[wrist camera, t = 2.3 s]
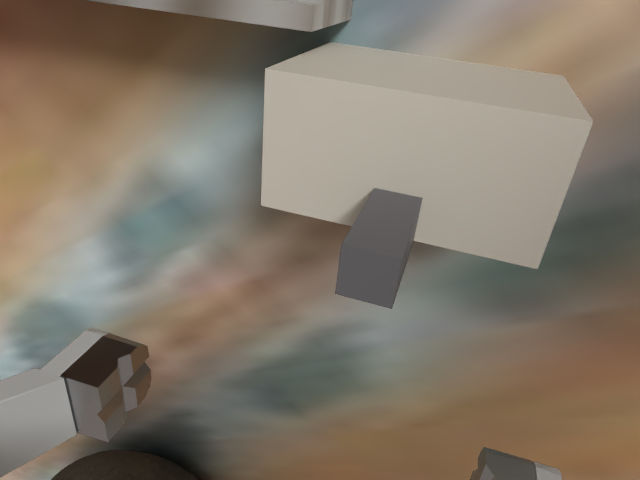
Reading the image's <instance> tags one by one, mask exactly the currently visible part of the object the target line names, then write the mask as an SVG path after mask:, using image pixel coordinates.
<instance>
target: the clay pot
mask: <svg viewBox="0 0 640 480" xmlns="http://www.w3.org/2000/svg"><path fill="white" fill-rule="evenodd" d="M51 480H198V479H197V478H196V477H195V476H194V475H193V474H191V473H190V472H189V471H187V470H185V469H183V468H182V467H180V466H178V465H176V464H174V463H173V462H171V461H169V460H167V459H165V458H162V457H159V456H156V455H153V454H149V453H143V452H138V451H128V450H110V451H102V452H99V453H96V454H92V455H89V456H86V457H84V458H81V459H79V460H77V461H75V462H74V463H72V464H70V465H68V466H67V467H65V468H64V469H63V470H61V471H60V472H59V473H58V474H56V475H55V476H54V477H53V478H52V479H51Z"/></svg>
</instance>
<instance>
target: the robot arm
mask: <svg viewBox="0 0 640 480" xmlns="http://www.w3.org/2000/svg"><path fill="white" fill-rule="evenodd" d="M148 357H149V352H148V346H145V345H143V344H140V343H137V342H134V341H131V340H128V339H125V338H122V337H119V336H116V335H113V334H110V333H107V332H104V331H101V330H97V329H94V328H91V329H88V330H86V331H84V332H83V333H82V334H81V335H80V336H79V337H78V338H76V339H75V340H74V341H73V342H72V343H71V344H69V345H68V346H67V347H66V348H65V349H64V350H63V351H61V352H60V353H59V354H58V355H57V356H56V357H54V358H53V359H52V360H51V361H50V362H49V363H48V364H46V365H45V366H44V367H43V368H42V369H41V370H39V369H32V370H29V371H26V372H23V373H20V374H18V375H15V376H12V377H9V378H6V379H3V380H0V477H2V476H4V475H6V474H8V473H9V472H11V471H13V470H15V469H16V468H18V467H20V466H22V465H24V464H25V463H27V462H29V461H31V460H32V459H34V458H36V457H38V456H40V455H41V454H43V453H45V452H47V451H48V450H50V449H52V448H54V447H56V446H57V445H59V444H61V443H63V442H65V441H66V440H68V439H70V438H72V437H73V436H75V435H77V433H80V434H84V435H87V436H90V437H93V438H96V439H99V440H102V441H105V442H109V441H110V440H111V438H112V437H113V436H114V435H115V434H116V432H117V431H118V430H119V429H120V428H121V426H122V425H123V424H124V423H125V422H126V412H127V411H129V410H132V409H134V408H136V407H138V406H139V404H140V403H141V402H142V400H143V399H144V398H145V396H146V394H147V392H148V389H149V387H150V383H151V370H150V368H149V367H148V366H147V364H146V363H145V361H146V360H147V358H148ZM470 480H562V475H561V473H560V471H559V469H557V468H553V467H550V466H547V465H543V464H540V463H536V462H532V461H531V460H527V459H524V458H520V457H517V456H514V455H510V454H507V453H503V452H500V451H496V450H493V449H489V448H486V447H483V449H482V450H481V452H480V454H479V457H478V469H477V470H474V471H473V472H472V475H471V478H470Z"/></svg>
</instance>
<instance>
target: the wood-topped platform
mask: <svg viewBox="0 0 640 480" xmlns="http://www.w3.org/2000/svg"><path fill="white" fill-rule="evenodd" d="M87 1H94V2H101V3H109V4H116V5H123V6H130V7H137V8H144V9H151V10H158V11H166V12H173V13H180V14H187V15H194V16H201V17H208V18H215V19H223V20H230V21H237V22H244V23H251V24H258V25H265V26H272V27H279V28H287V29H294V30H301V31H308V32H313V31H316V30H319V29H322V28H326V27H329V26H332V25H335V24H339V23H342V22H345V21H348V20H351V13H352V4H353V0H87Z"/></svg>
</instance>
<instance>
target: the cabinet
mask: <svg viewBox="0 0 640 480" xmlns="http://www.w3.org/2000/svg"><path fill="white" fill-rule="evenodd" d="M592 124H593V120H592V119H591V117H590V116H589V114H588V112H587V111H586V109H585V108H584V106H583V105H582V103H581V102H580V100H579V99H578V97H577V96H576V94H575V93H574V91H573V90H572V88H571V87H570V85H569V83H568V82H567V80H566V79H565V77H564V76H561V75H555V74H548V73H541V72H534V71H527V70H520V69H513V68H506V67H499V66H492V65H485V64H478V63H471V62H464V61H457V60H450V59H443V58H437V57H430V56H423V55H416V54H409V53H402V52H395V51H388V50H381V49H374V48H367V47H360V46H353V45H346V44H339V43H332V42H330V43H327V44H325V45H322V46H320V47H317V48H315V49H312V50H310V51H308V52H305V53H303V54H300V55H298V56H295V57H293V58H290V59H288V60H285V61H283V62H280V63H278V64H275V65H273V66H270V67H268V68H265V89H264V121H263V153H262V185H261V206H265V207H269V208H274V209H278V210H282V211H287V212H291V213H295V214H300V215H304V216H308V217H313V218H317V219H321V220H326V221H330V222H334V223H339V224H343V225H347V226H352V227H351V229H350V231H349V232H348V234H347V236H346V237H345V239H344V241H343V243H342V245H341V253H340V260H339V268H338V276H337V283H336V291H335V294H338V295H342V296H345V297H349V298H353V299H357V300H361V301H364V302H368V303H372V304H376V305H379V306H383V307H387V308H391V309H392V307H393V304H394V301H395V298H396V294H397V291H398V288H399V285H400V282H401V279H402V275H403V272H404V269H405V266H406V263H407V260H408V257H409V253H410V250H411V247H412V244H413V241H417V242H421V243H425V244H430V245H434V246H439V247H443V248H447V249H452V250H456V251H460V252H465V253H469V254H473V255H478V256H482V257H486V258H491V259H495V260H499V261H504V262H508V263H512V264H517V265H521V266H525V267H530V268H534V269H538V267H539V264H540V262H541V259H542V256H543V254H544V251H545V248H546V246H547V243H548V241H549V238H550V235H551V233H552V230H553V227H554V225H555V222H556V219H557V217H558V214H559V212H560V209H561V206H562V204H563V201H564V198H565V196H566V193H567V190H568V188H569V185H570V182H571V180H572V177H573V175H574V172H575V169H576V167H577V164H578V161H579V159H580V156H581V153H582V151H583V148H584V146H585V143H586V140H587V138H588V135H589V132H590V130H591V127H592Z"/></svg>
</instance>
